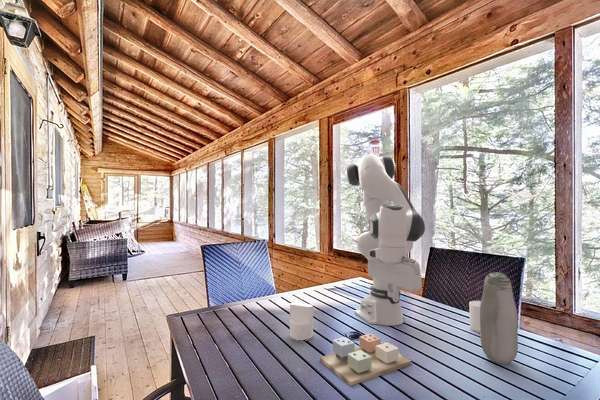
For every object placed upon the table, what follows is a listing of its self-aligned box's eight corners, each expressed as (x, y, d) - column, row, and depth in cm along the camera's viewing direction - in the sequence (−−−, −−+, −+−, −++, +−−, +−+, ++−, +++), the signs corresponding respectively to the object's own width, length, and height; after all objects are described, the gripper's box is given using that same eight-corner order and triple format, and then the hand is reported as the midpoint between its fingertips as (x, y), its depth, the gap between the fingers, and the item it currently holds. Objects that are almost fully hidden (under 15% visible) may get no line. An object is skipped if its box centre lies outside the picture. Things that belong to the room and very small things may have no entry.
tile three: (332, 350, 101) (332, 339, 101) (345, 347, 103) (345, 336, 103) (341, 357, 96) (341, 345, 96) (354, 353, 99) (354, 342, 99)
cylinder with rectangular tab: (316, 333, 122) (316, 302, 122) (307, 342, 114) (307, 309, 114) (296, 329, 126) (295, 299, 126) (285, 338, 117) (285, 306, 118)
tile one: (375, 356, 99) (375, 345, 99) (387, 352, 101) (387, 341, 101) (386, 363, 94) (386, 351, 94) (398, 359, 97) (398, 348, 97)
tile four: (359, 346, 106) (359, 336, 106) (370, 343, 108) (370, 333, 108) (369, 352, 101) (369, 341, 101) (380, 349, 104) (380, 338, 104)
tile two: (347, 365, 94) (347, 353, 94) (360, 361, 96) (360, 349, 96) (358, 373, 89) (358, 360, 89) (371, 368, 92) (371, 356, 92)
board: (320, 360, 100) (319, 349, 100) (376, 344, 111) (376, 334, 111) (350, 386, 86) (350, 373, 86) (411, 364, 97) (411, 352, 97)
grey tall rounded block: (519, 372, 92) (517, 278, 92) (480, 363, 97) (478, 274, 98) (517, 358, 100) (515, 271, 101) (481, 350, 106) (479, 268, 106)
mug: (501, 339, 115) (500, 311, 115) (476, 337, 117) (476, 309, 117) (489, 326, 126) (488, 301, 127) (467, 325, 128) (466, 300, 128)
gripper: (426, 259, 91) (426, 306, 91) (378, 248, 109) (378, 288, 109) (411, 261, 88) (411, 309, 88) (364, 250, 106) (364, 290, 106)
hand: (393, 297), depth 99 cm, fingers closed
